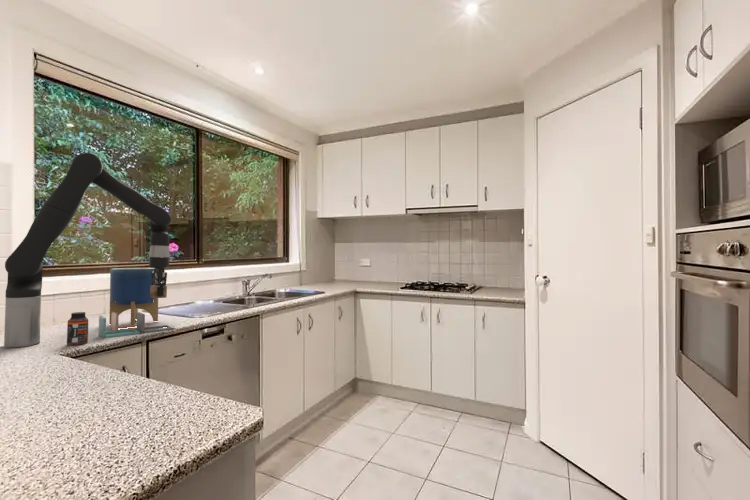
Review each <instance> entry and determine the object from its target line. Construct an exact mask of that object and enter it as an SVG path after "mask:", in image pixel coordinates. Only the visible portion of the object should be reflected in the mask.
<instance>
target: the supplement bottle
mask: <svg viewBox="0 0 750 500" xmlns="http://www.w3.org/2000/svg"><path fill="white" fill-rule="evenodd" d="M70 315H71V317H70V318H69V319H68V320H67V327H66V331H67V333H66V344H67V345H68V346H79V345H86V344H87V343H88V341H89V318H87V317H86V312H84V311H79V312H76V311H75V312H71V314H70Z"/></svg>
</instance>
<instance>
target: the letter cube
mask: <svg viewBox="0 0 750 500" xmlns="http://www.w3.org/2000/svg"><path fill="white" fill-rule="evenodd" d="M157 288H159V287H157V285H153V286H150V298H158V299H164V298H167V294H168V293H167V290H168V286H167V285H166V286H164V293H163V296H157Z"/></svg>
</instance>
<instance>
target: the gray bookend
mask: <svg viewBox="0 0 750 500" xmlns="http://www.w3.org/2000/svg"><path fill="white" fill-rule="evenodd" d="M145 323H146V315H145V314H144V313H142V312H139V311H138V312H137V321H136V325H137V331H139V332H140V333H141V334H147V333H157V332H164V331H165V332H166V331H172V330H173V331H174V330H175V326H171V325H169V324H165V325H163V324H162V325H155V326H149V327H145V325H146V324H145ZM163 327H167V328H163ZM140 333H139V334H140Z"/></svg>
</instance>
